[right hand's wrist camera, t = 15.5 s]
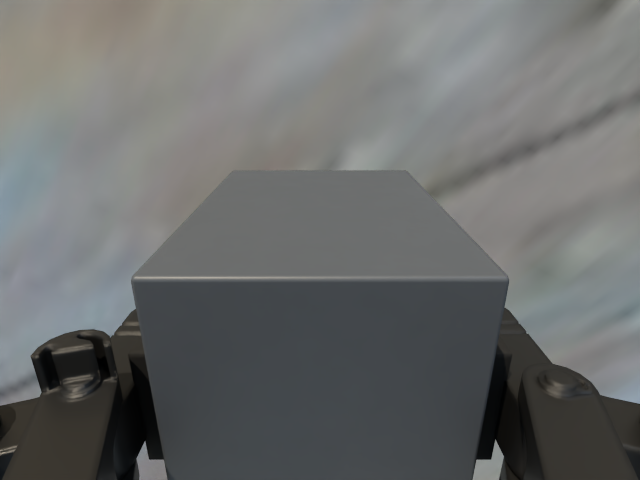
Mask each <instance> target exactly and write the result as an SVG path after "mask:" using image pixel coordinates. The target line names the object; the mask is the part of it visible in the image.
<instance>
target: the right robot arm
mask: <svg viewBox="0 0 640 480" xmlns="http://www.w3.org/2000/svg"><path fill="white" fill-rule="evenodd" d="M31 359H32V362H33V365H34V369H35V372H36V375H37V378H38V382H39V385H40V388H41V391H42V393H41V395H40V397H38V398H34V399H30V400H26V401H21V402H16V403H12V404H7V405H2V406H0V480H139V470H138V464H137V459H136V458H137V456H138V454H139V452H140V450H141V448H142V446H143V444H144V442H145V441H146V446H147V451H148V456H149V459H164V457H163V451H162V446H161V440H160V435H159V430H158V424H157V419H156V413H155V408H154V403H153V397H152V392H151V386H150V381H149V376H148V370H147V365H146V359H145V354H144V348H143V343H142V338H141V332H140V327H139V321H138V316H137V311H136V309H135V310H134V311H132V312H131V313H130V314H129V316H128V317H127V318H126V319H125V320H124V322H123V323H122V326H120V327H119V328H118V329H117V330H116V332H115V333H114V335H112V337H111V338H110V336H109V335H107V334H106V333H105V332H103V331H98V330H93V329H92V330H78V331H74V332H70V333H65V334H63V335H60V336H58V337H55V338H53V339H51V340H49V341H47V342H46V343H44V344H43V345H41V346H40V347H38V348H37V349H36V350H35V352H34V353H33V354H32V355H31ZM495 439H496V441H497V443H498V445H499V447H500V449H501V451H502V453H503V455H504V459H503V464H502V469H501V473H500V478H499V480H640V404H637V403H633V402H628V401H623V400H618V399H614V398H609V397H605V396H602V395H600V394H599V392H598V391H597V389H596V388H595V387H594V385H593V384H592V383H591V382H590V381H589V380H587V379H586V378H585V377H583V376H582V375H581V374H579V373H577V372H575V371H573V370H571V369H568V368H566V367H563V366H559V365H555V364H552V363H551V361H550V360H549V359H548V358H547V356H546V355H545V354H544V353H543V352H542V350H541V349H540V348H539V347H538V345H537V344H536V343H535V342H534V341H533V339H532V338H531V337H530V336H529V334H526V331H525V329H524V328H523V327H522V326H521V325H520V324H518V321H517V320H516V318H515V317H514V316H513V315H512V314H511V312H510V311H509V310H507V309H506V308H504V312H503V317H502V322H501V328H500V333H499V339H498V344H497V349H496V355H495V360H494V366H493V371H492V377H491V382H490V387H489V393H488V398H487V404H486V409H485V414H484V420H483V425H482V431H481V436H480V441H479V447H478V452H477V458H476V459H491V457H492V452H493V448H494V443H495Z"/></svg>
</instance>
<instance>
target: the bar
mask: <svg viewBox="0 0 640 480" xmlns="http://www.w3.org/2000/svg"><path fill="white" fill-rule="evenodd" d="M131 284H132V289H133V294H134V300H135V305H136V311H137V316H138V321H139V327H140V332H141V338H142V343H143V348H144V354H145V359H146V365H147V370H148V376H149V381H150V386H151V392H152V397H153V403H154V408H155V413H156V419H157V424H158V430H159V435H160V440H161V446H162V451H163V457H164V462H165V467H166V473H167V478H168V480H472V479H473V474H474V469H475V463H476V458H477V452H478V447H479V441H480V436H481V431H482V425H483V420H484V414H485V409H486V404H487V398H488V393H489V387H490V382H491V377H492V371H493V366H494V360H495V355H496V349H497V344H498V339H499V333H500V328H501V322H502V317H503V312H504V306H505V301H506V295H507V290H508V284H509V278H508V276H507V275H506V274H505V272H504V271H503V270H502V269H501V268H500V267H499V266H498V265H497V264H496V263H495V262H494V261H493V260H492V259H491V258H490V257H489V256H488V255H487V254H486V253H485V252H484V251H483V250H482V249H481V248H480V246H479V245H478V244H477V243H476V242H475V241H474V240H473V239H472V238H471V237H470V236H469V235H468V234H467V233H466V232H465V231H464V230H463V229H462V228H461V227H460V226H459V225H458V224H457V223H456V222H455V220H454V219H453V218H452V217H451V216H450V215H449V214H448V213H447V212H446V211H445V210H444V209H443V208H442V207H441V206H440V205H439V204H438V203H437V202H436V201H435V200H434V199H433V198H432V197H431V196H430V194H429V193H428V192H427V191H426V190H425V189H424V188H423V187H422V186H421V185H420V184H419V183H418V182H417V181H416V180H415V179H414V178H413V177H412V176H411V175H410V174H409V173H408V172H407V171H232V172H231V173H230V174H229V175H228V176H227V177H226V179H225V180H224V181H223V182H222V183H221V184H220V185H219V186H218V187H217V188H216V189H215V190H214V191H213V192H212V193H211V194H210V195H209V196H208V197H207V198H206V200H205V201H204V202H203V203H202V204H201V205H200V206H199V207H198V208H197V209H196V210H195V211H194V212H193V213H192V214H191V215H190V216H189V217H188V218H187V219H186V220H185V222H184V223H183V224H182V225H181V226H180V227H179V228H178V229H177V230H176V231H175V232H174V233H173V234H172V235H171V236H170V237H169V238H168V239H167V240H166V241H165V243H164V244H163V245H162V246H161V247H160V248H159V249H158V250H157V251H156V252H155V253H154V254H153V255H152V256H151V257H150V258H149V259H148V260H147V261H146V262H145V263H144V265H143V266H142V267H141V268H140V269H139V270H138V271H137V272H136V273H135V274H134V275H133V276H132V279H131Z"/></svg>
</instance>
